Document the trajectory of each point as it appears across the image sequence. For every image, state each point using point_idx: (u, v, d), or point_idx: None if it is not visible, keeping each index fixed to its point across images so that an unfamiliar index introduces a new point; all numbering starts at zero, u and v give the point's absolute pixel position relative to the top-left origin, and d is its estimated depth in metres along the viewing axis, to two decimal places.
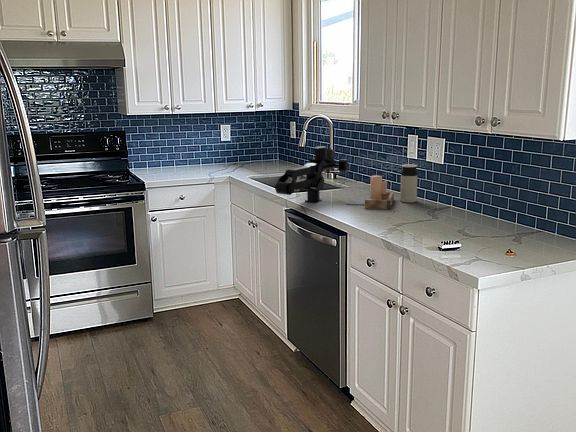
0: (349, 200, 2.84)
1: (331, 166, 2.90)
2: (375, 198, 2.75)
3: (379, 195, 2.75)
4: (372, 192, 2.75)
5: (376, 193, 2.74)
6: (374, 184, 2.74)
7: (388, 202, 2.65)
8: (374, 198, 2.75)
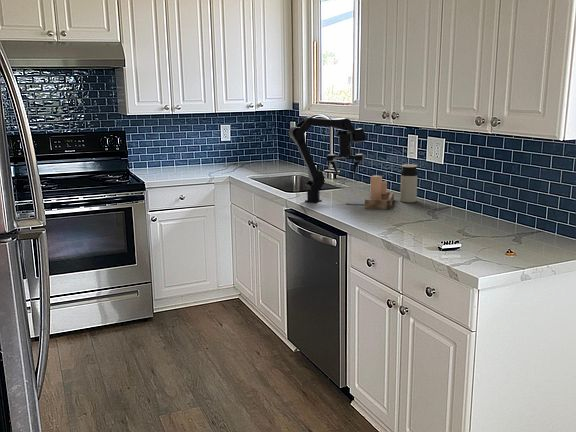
0: (349, 200, 2.84)
1: (350, 148, 2.83)
2: (375, 198, 2.75)
3: (379, 195, 2.75)
4: (372, 192, 2.75)
5: (376, 193, 2.74)
6: (374, 184, 2.74)
7: (388, 202, 2.65)
8: (374, 198, 2.75)
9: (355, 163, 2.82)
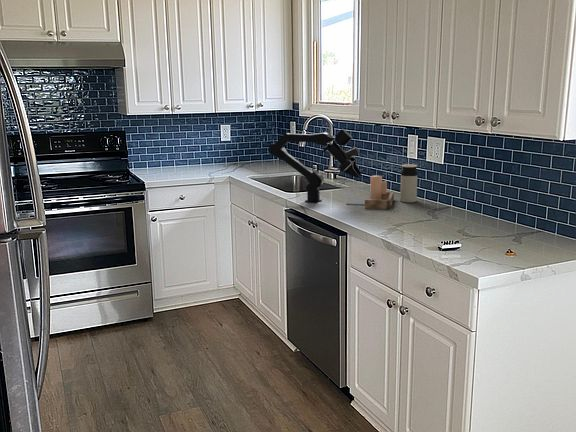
0: (349, 200, 2.84)
1: (339, 158, 2.75)
2: (375, 198, 2.75)
3: (379, 195, 2.75)
4: (372, 192, 2.75)
5: (376, 193, 2.74)
6: (373, 184, 2.74)
7: (388, 202, 2.65)
8: (374, 198, 2.75)
9: None
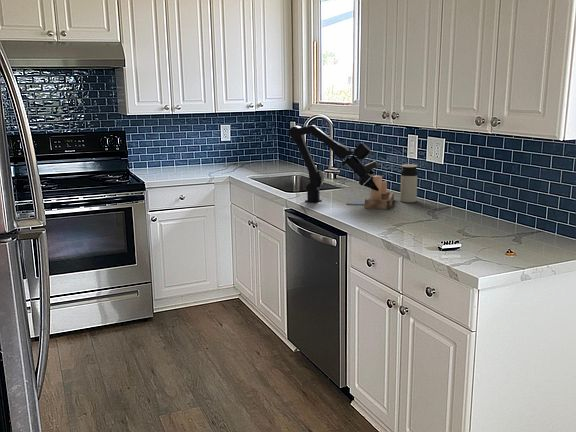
0: (349, 200, 2.84)
1: (358, 171, 2.74)
2: (375, 198, 2.75)
3: (379, 195, 2.75)
4: (372, 192, 2.75)
5: (376, 193, 2.74)
6: None
7: (388, 202, 2.65)
8: (374, 198, 2.75)
9: None
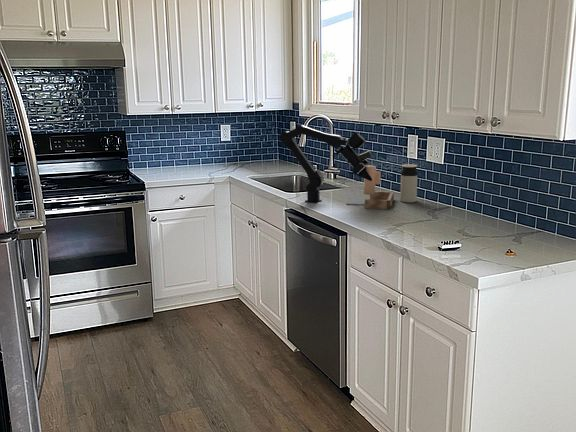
0: (349, 200, 2.84)
1: (352, 161, 2.74)
2: (368, 188, 2.75)
3: (372, 185, 2.74)
4: (365, 182, 2.75)
5: (369, 183, 2.74)
6: None
7: (388, 202, 2.65)
8: (367, 188, 2.75)
9: None
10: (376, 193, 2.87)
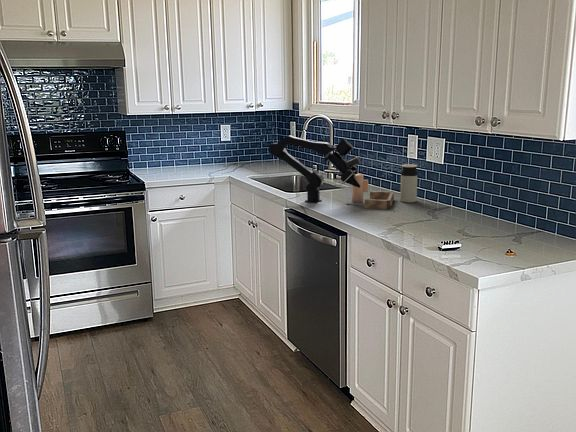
0: (349, 200, 2.84)
1: (340, 167, 2.76)
2: (357, 196, 2.77)
3: (360, 193, 2.77)
4: (354, 190, 2.77)
5: (358, 191, 2.76)
6: None
7: (388, 202, 2.65)
8: (356, 196, 2.77)
9: None
10: (376, 193, 2.87)
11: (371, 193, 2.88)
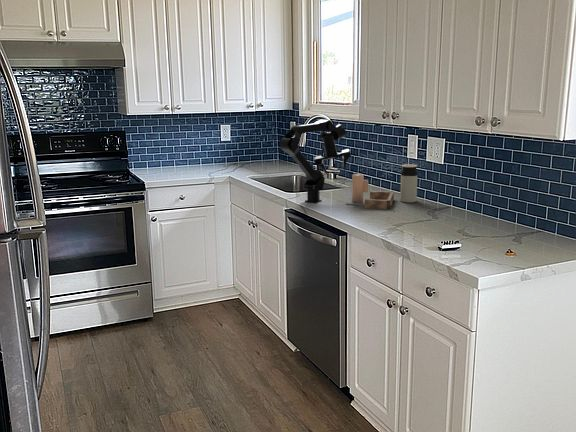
0: (349, 200, 2.84)
1: (335, 147, 2.87)
2: (357, 197, 2.77)
3: (360, 193, 2.77)
4: (354, 190, 2.77)
5: (358, 192, 2.76)
6: (355, 183, 2.76)
7: (388, 202, 2.65)
8: (356, 196, 2.77)
9: (344, 160, 2.87)
10: (376, 193, 2.87)
11: (371, 193, 2.88)
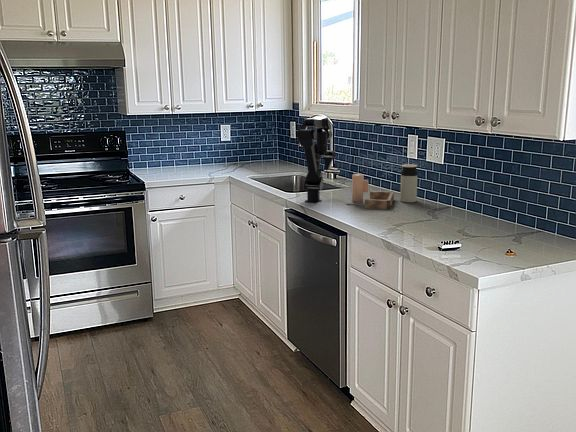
0: (349, 200, 2.84)
1: None
2: (357, 197, 2.77)
3: (361, 193, 2.77)
4: (354, 190, 2.77)
5: (358, 192, 2.76)
6: (355, 183, 2.76)
7: (388, 202, 2.65)
8: (356, 196, 2.77)
9: (332, 159, 2.98)
10: (376, 193, 2.87)
11: (371, 193, 2.88)
